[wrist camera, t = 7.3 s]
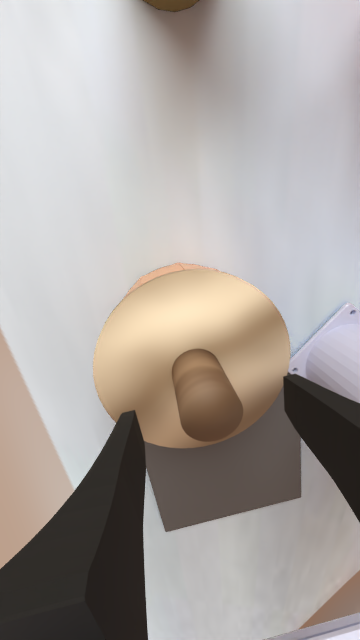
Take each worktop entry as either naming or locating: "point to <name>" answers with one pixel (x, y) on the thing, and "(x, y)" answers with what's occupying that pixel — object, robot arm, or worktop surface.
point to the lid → (192, 357)
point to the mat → (228, 472)
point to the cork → (171, 4)
